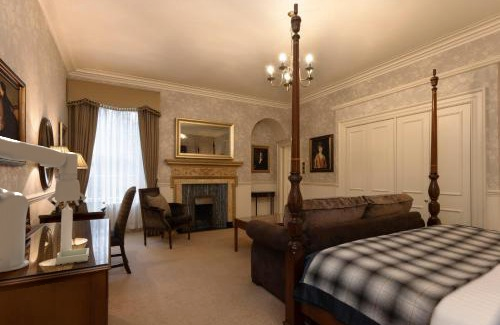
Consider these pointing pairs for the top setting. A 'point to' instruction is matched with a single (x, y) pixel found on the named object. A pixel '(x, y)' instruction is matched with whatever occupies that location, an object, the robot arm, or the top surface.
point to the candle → (66, 228)
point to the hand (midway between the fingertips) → (67, 213)
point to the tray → (72, 256)
